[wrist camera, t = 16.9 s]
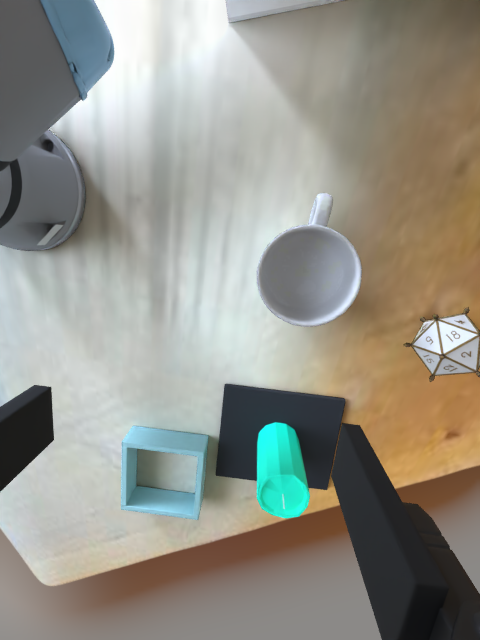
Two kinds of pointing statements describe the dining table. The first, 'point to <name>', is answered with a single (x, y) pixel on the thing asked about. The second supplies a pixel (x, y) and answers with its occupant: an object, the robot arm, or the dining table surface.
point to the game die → (448, 345)
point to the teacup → (310, 271)
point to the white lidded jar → (266, 7)
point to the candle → (281, 472)
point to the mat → (282, 407)
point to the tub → (160, 498)
